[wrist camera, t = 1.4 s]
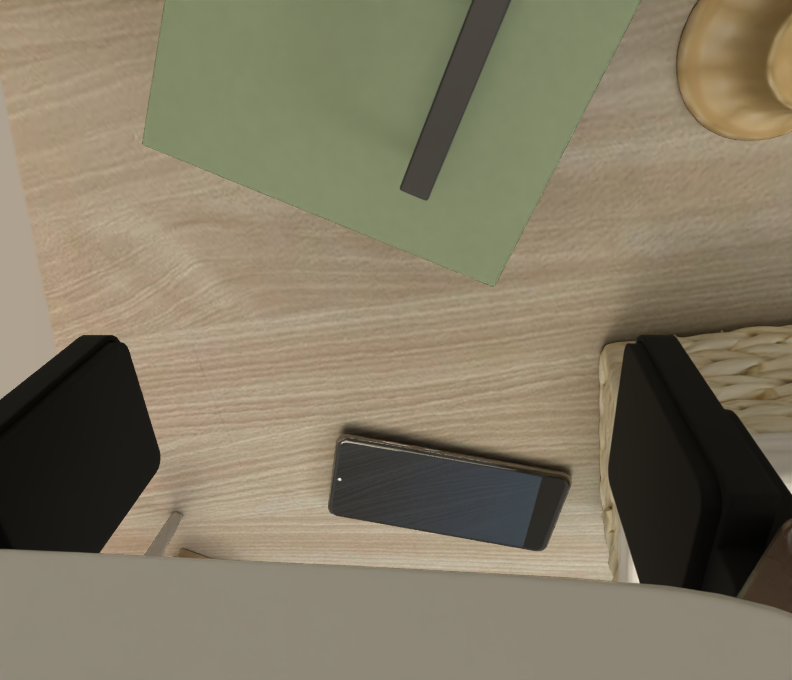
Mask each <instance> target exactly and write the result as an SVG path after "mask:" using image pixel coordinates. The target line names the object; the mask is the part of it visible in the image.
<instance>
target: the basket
mask: <svg viewBox="0 0 792 680" xmlns="http://www.w3.org/2000/svg"><path fill="white" fill-rule="evenodd" d="M673 335H674V336H675V337H677V336H676V335H675V334H673ZM677 339H678V340H679V342H680V343H681V345H682V346H683V348H684V349H685V351H686V352H687V354H688V355H689V357H690V358H691V360H692V361H693V363H694V364H695V366H696V367H697V369H698V370H699V372H700V373H701V375H702V376H703V378H704V379H705V381H706V382H707V384H708V385H709V387H710V388H711V390H712V391H713V393H714V394H715V396H716V397H717V399H718V400H719V402H720V403H721V405H722V406H723V408H724V409H728V410H732V411H733V412H734V413H735V414H736V415H737V416H738V417H739V419H740V420H741V421H742V423H743V424H744V426H745V427H746V429H747V430H748V432H749V433H750V434H751V436H752V437H753V439H754V440H755V442H756V443H757V445H758V446H759V448H760V449H761V450H762V452H763V453H764V455H765V456H766V458H767V459H768V461H769V462H770V463H771V465H772V466H773V468H774V469H775V471H776V472H777V474H778V475H779V477H780V478H781V479H782V481H783V482H784V484H785V485H786V487H787V488H788V490H789V491H790V492H791V494H792V325H787V326H781V327H774V326H756V327H746V328H740V329H737V330H734V331H731V332H725V333H723V331H722V330H721V331H720V333H711V334H702V335H697V336H691V337H682V338H680V337H677ZM627 343H636V341H629V342H617V343H611V344H607V345H606V346H605V347H604V350H603V351H602V353H601V355H600V360H599V383H600V386H601V388H600V395H599V410H600V421H599V442H600V473H601V481H600V485H599V492H600V498H601V503H602V510H603V513H602V520H603V523H604V531H605V540H606V544H607V546H608V549H609V560H608V564H609V568H610V570H611V572H612V574H613V576H614V577H613V581H617V582H629V583H639V579H638V576H637V573H636V569H635V566H634V563H633V560H632V556H631V553H630V550H629V547H628V543H627V540H626V537H625V533H624V530H623V527H622V524H621V520H620V517H619V514H618V511H617V507H616V504H615V501H614V497H613V494H612V491H611V488H610V484H609V478H608V462H609V455H610V447H611V440H612V433H613V426H614V419H615V412H616V405H617V397H618V390H619V383H620V376H621V369H622V362H623V354H624V349H625V346H626V344H627Z"/></svg>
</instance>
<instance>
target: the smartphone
mask: <svg viewBox="0 0 792 680" xmlns="http://www.w3.org/2000/svg"><path fill="white" fill-rule="evenodd" d="M570 486H571V478H570V476H569V475H568V474H567V473H565V472H561V471H557V470H552V469H546V468H540V467H535V466H529V465H523V464H518V463H512V462H506V461H501V460H495V459H489V458H484V457H478V456H472V455H467V454H461V453H455V452H450V451H444V450H438V449H433V448H427V447H421V446H416V445H410V444H404V443H399V442H393V441H387V440H382V439H376V438H371V437H365V436H359V435H353V434H342V435H340V436H339V437H338V439H337V441H336V447H335V455H334V463H333V470H332V478H331V486H330V494H329V501H328V509H329V512H330V513H331V514H333V515H336V516H340V517H346V518H352V519H357V520H363V521H369V522H374V523H380V524H385V525H391V526H397V527H402V528H408V529H414V530H419V531H425V532H431V533H436V534H442V535H447V536H453V537H459V538H464V539H470V540H476V541H481V542H487V543H493V544H498V545H504V546H509V547H515V548H521V549H526V550H532V551H542V550H544V549H545V548H546V547H547V545H548V543H549V540H550V538H551V535H552V532H553V530H554V527H555V525H556V522H557V520H558V517H559V514H560V512H561V509H562V507H563V504H564V502H565V499H566V497H567V494H568V491H569V489H570Z"/></svg>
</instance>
